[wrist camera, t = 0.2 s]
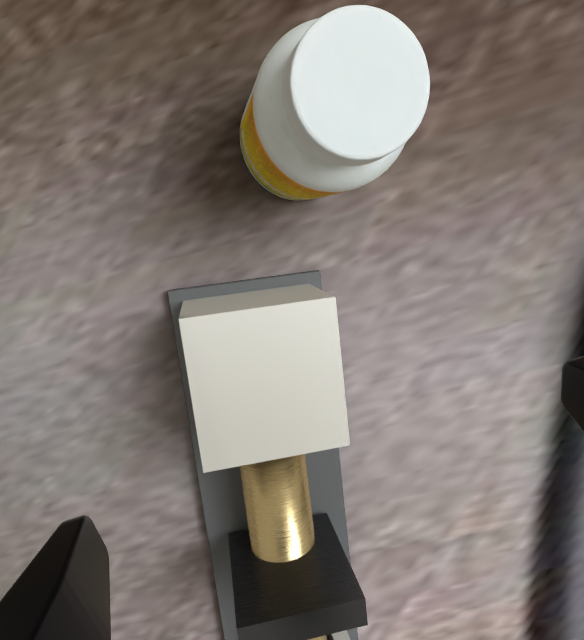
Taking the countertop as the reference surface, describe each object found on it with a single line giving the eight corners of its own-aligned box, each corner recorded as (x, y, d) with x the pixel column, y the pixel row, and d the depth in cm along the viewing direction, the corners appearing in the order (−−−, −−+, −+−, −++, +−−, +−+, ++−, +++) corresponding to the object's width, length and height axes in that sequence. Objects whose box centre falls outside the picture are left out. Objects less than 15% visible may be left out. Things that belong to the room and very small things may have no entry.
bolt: (349, 714, 28) (389, 845, 22) (259, 739, 27) (276, 881, 21) (317, 427, 25) (354, 490, 19) (214, 446, 24) (219, 517, 18)
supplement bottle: (261, 58, 22) (305, -68, 13) (370, 107, 23) (484, 25, 14) (221, 177, 23) (236, 139, 13) (330, 219, 24) (413, 211, 15)
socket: (321, 404, 25) (350, 445, 20) (202, 425, 24) (203, 472, 19) (308, 283, 24) (335, 297, 19) (183, 300, 23) (178, 318, 18)
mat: (363, 717, 29) (367, 727, 29) (243, 750, 28) (244, 761, 28) (317, 270, 24) (320, 271, 24) (168, 290, 23) (167, 291, 22)
